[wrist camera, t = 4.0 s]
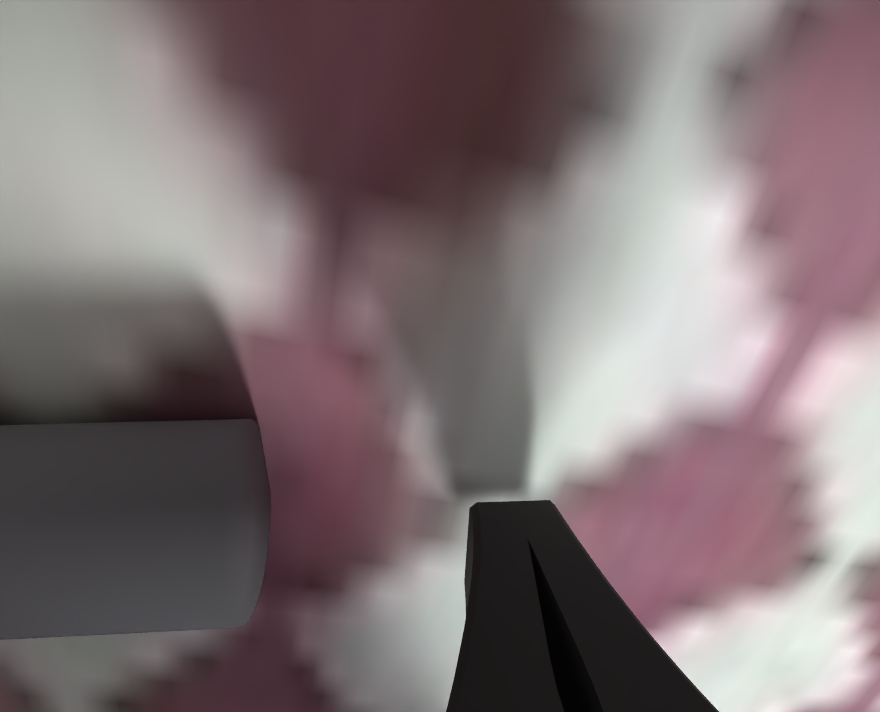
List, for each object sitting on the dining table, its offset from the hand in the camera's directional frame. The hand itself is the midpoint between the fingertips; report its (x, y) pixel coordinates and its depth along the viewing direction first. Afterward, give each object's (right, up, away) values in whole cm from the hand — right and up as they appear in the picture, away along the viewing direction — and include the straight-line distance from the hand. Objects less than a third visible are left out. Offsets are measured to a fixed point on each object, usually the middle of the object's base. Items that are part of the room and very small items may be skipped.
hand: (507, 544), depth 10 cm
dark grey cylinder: (-8, 0, 0) cm, 8 cm away
